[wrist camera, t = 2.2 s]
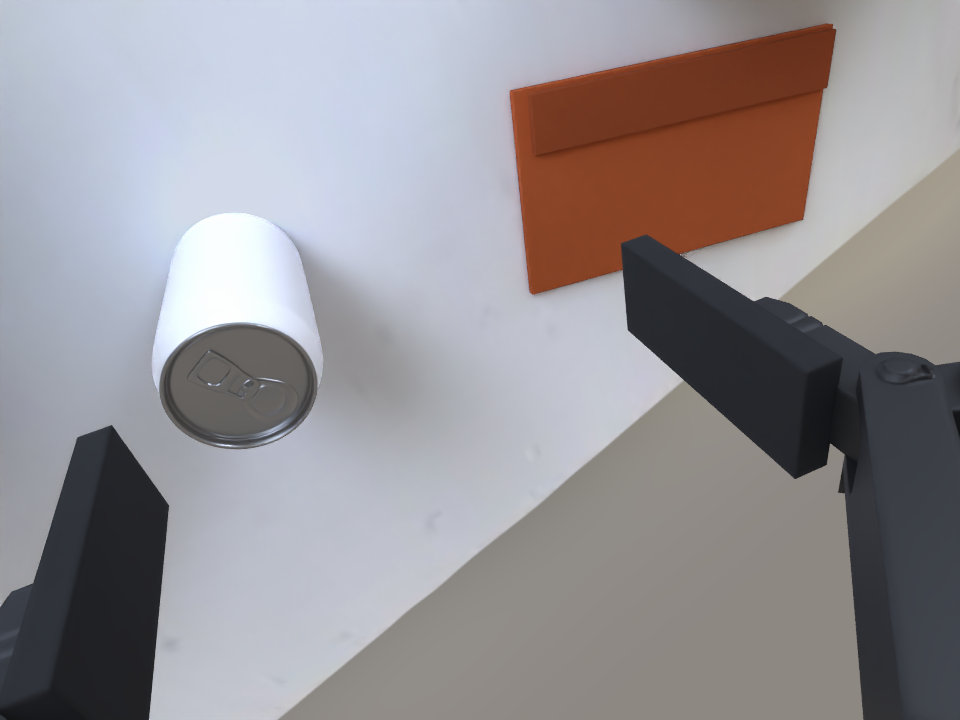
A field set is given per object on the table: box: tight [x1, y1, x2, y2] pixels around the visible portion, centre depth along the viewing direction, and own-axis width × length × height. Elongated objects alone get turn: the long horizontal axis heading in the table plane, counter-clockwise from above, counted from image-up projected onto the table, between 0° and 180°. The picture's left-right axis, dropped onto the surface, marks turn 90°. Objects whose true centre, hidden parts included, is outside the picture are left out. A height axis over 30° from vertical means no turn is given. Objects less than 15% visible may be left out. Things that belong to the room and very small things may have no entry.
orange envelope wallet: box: [510, 24, 836, 295], centre depth 39 cm, size 20×12×1 cm, turn 98°
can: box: [152, 213, 323, 449], centre depth 29 cm, size 6×6×12 cm
